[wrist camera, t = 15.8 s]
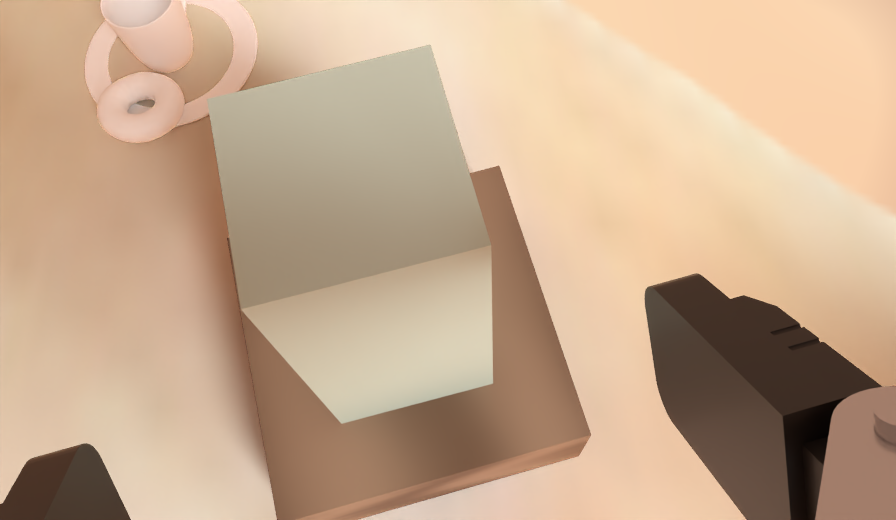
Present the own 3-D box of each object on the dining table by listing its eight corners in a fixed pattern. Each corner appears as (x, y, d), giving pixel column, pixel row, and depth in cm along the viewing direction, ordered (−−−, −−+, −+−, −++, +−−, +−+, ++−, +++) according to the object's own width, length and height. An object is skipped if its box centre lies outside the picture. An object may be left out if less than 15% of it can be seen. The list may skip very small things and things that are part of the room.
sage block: (341, 423, 26) (240, 309, 15) (312, 282, 28) (207, 98, 17) (492, 383, 26) (491, 245, 16) (454, 246, 28) (430, 44, 18)
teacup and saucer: (158, 179, 35) (117, 127, 31) (41, 87, 37) (-11, 29, 33) (296, 44, 37) (273, -19, 33) (177, -34, 39) (143, -101, 36)
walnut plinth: (306, 534, 28) (278, 524, 25) (258, 279, 32) (227, 238, 28) (578, 455, 29) (590, 434, 25) (498, 214, 33) (499, 165, 29)
